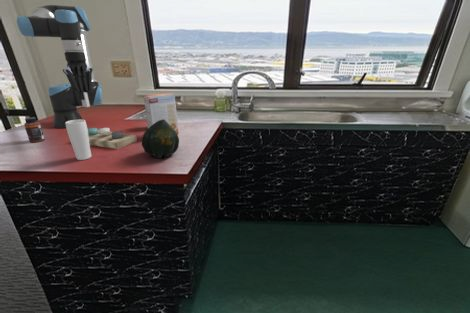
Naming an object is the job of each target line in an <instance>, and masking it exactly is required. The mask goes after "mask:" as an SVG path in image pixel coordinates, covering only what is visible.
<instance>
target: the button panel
mask: <svg viewBox="0 0 470 313" xmlns="http://www.w3.org/2000/svg"><path fill="white" fill-rule="evenodd" d="M112 132H113V131H110V134H106V135H99V133H97V134H93V135H89V143H90V146H94V147H95V146H97V147H103V148H107V149H108V148H109V149H114V150H119V149H121V148H124V147H126V146H129V145H131V144H134V143H136V142H137V141H138V140H137V135H136V134H130V133H123V134H124V137H122V138H112V134H111V133H112Z"/></svg>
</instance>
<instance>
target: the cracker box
mask: <svg viewBox="0 0 470 313" xmlns="http://www.w3.org/2000/svg"><path fill="white" fill-rule="evenodd" d="M143 103H144V110H145V115H146V123H147V129H148V128H149V127H150V126H152V125H153V124H154V123H156V122H157V121H159V120H163V119H164V120H165V121H166V122H167V123H168V124H169V125H170V126H171V127H172V128H173V129H174V130H175V131H176V133H177V135H179V127H178V126H179V123H178V115H177V114H178V113H177V107H176V96H175V93H172V92H167V93H158V94H157V93H156V94H147V95H143Z"/></svg>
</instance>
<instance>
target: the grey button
mask: <svg viewBox="0 0 470 313" xmlns="http://www.w3.org/2000/svg"><path fill="white" fill-rule="evenodd" d="M111 132H112V133H111V134H112V138H122V137H124V134H125V133H124V131H123V130H122V131H121V130H118V131H111Z"/></svg>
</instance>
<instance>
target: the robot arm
mask: <svg viewBox="0 0 470 313" xmlns="http://www.w3.org/2000/svg"><path fill="white" fill-rule="evenodd" d="M16 24H17V27H18V30H19V33H20V34H21V35H22V36H24V37H32V38H33V37H34V38H35V37H36V38H37V37H40V38H42V37H44V38H60V40H61V41H60V42H61V45H62V49H63V51H65V52H64V53H63V54H64V57H65V61H66V62H67V65H66V68H63V69H62V72H63V73H64V75H66V78H67V80H68V82H69V83H61V84H55V85H51V86H49V87H48V88H47V92H48V97H49V99H50V100H49V101H50V102H51V107H52V110H53V120H52V121H53V122H52V124H53V127H54V128H55V129H66V125H65V122H67V121H70V120H79V119H82V120H84V118H82V116H81V114H80V112H79V111H78V107H84V108H89V107H91V106H99V105H102V103H103V88H102V85H101V84H99V81H98V80H96V79H95V74H94V69H93V65H92V59H91V54H90V50H89V44H88V39H87V36H88V35H89V32H90V31H91V26H90V23H89V19H88V16H87V14H86V11H85V9H84V8H82V7H79V6H72V5H70V6H69V5H55V4H47V5H43V6H38V7H37V8H35V9H33V10H32V14H31V15H30V16H26V15H23V16H17V17H16Z"/></svg>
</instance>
